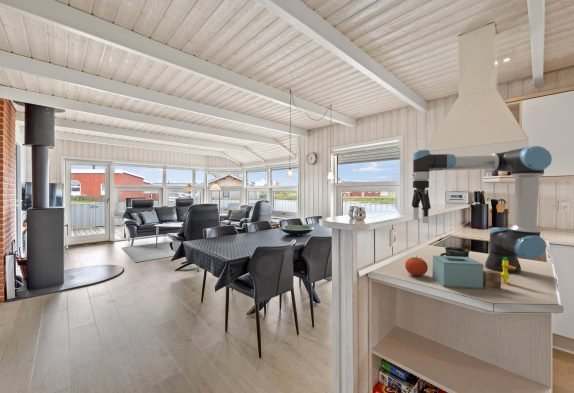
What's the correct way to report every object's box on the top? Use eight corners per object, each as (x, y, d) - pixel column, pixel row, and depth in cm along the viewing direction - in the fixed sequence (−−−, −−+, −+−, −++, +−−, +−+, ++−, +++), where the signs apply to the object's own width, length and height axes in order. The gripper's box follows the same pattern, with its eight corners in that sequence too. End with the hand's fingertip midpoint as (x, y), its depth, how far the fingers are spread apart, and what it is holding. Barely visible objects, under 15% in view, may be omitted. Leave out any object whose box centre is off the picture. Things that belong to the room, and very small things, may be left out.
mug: (474, 275, 131) (475, 251, 130) (446, 275, 130) (447, 251, 130) (459, 268, 142) (460, 246, 141) (433, 268, 141) (434, 246, 141)
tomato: (404, 271, 136) (404, 252, 136) (425, 273, 133) (425, 254, 132) (406, 277, 126) (406, 257, 126) (429, 280, 123) (429, 259, 123)
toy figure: (517, 285, 116) (518, 259, 116) (512, 286, 115) (513, 260, 115) (501, 280, 123) (502, 256, 122) (496, 281, 121) (496, 256, 121)
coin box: (467, 279, 124) (468, 257, 124) (482, 289, 112) (483, 264, 112) (432, 277, 126) (432, 255, 126) (443, 286, 115) (444, 262, 114)
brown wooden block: (496, 286, 115) (496, 271, 115) (500, 289, 112) (501, 273, 112) (481, 285, 116) (482, 270, 116) (485, 288, 113) (486, 272, 113)
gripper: (406, 181, 145) (405, 218, 146) (421, 179, 121) (421, 224, 121) (420, 181, 144) (419, 218, 145) (439, 179, 119) (438, 224, 120)
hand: (420, 221), depth 133 cm, fingers open, 13 cm apart
